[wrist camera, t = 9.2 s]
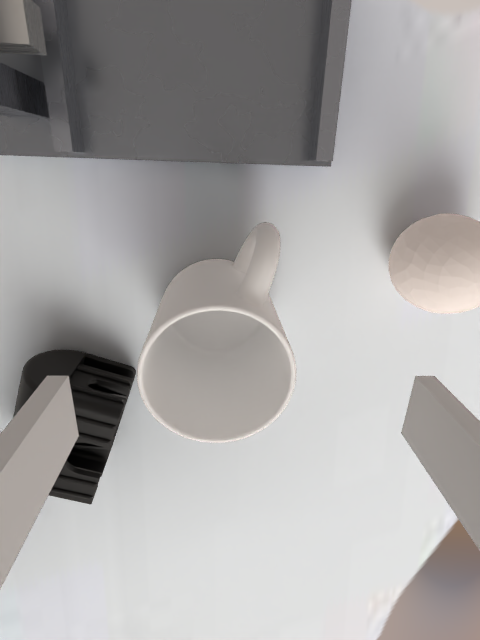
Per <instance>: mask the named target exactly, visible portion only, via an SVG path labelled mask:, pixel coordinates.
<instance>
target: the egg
mask: <svg viewBox="0 0 480 640" xmlns="http://www.w3.org/2000/svg"><path fill="white" fill-rule="evenodd" d="M389 274H390V278H391V281H392V283H393V285H394V287H395V289H396V290H397V292H398V293H399V294H400V295H401V296H402V297H403V298H404V299H405V300H406V301H408V302H409V303H411V304H413V305H414V306H416V307H418V308H421V309H423V310H426V311H429V312H432V313H440V314H450V313H461V312H465V311H469V310H472V309H475V308H477V307H479V306H480V222H479V221H477V220H474V219H472V218H470V217H466V216H462V215H459V214H450V213H445V214H437V215H433V216H429V217H426V218H423V219H420V220H418V221H416V222H415V223H413V224H412V225H410V226H409V227H408V228H407V229H406V230H404V231H403V232H402V233H401V234H400V236H399V237H398V238H397V240H396V241H395V243H394V245H393V247H392V249H391V253H390V257H389Z"/></svg>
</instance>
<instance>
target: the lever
mask: <svg viewBox="0 0 480 640" xmlns="http://www.w3.org/2000/svg"><path fill="white" fill-rule="evenodd" d="M0 53H12V54H31V55H47V52H46V45H45V38H44V31H43V24H42V17H41V10H40V7H39V6H38V5H36V4H35V3H34V2H33V1H32V0H0Z"/></svg>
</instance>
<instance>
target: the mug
mask: <svg viewBox="0 0 480 640" xmlns="http://www.w3.org/2000/svg"><path fill="white" fill-rule="evenodd" d="M279 255H280V235H279V232H278V230H277V229H276V227H275V226H274V225H272V224H271V223H266V222H265V223H260V224H258V225H257V226H256V227H255V228H253V230H252V231H251V232H250V234H249V235H248V237H247V239H246V240H245V242H244V244H243V245H242V247H241V249H240V251H239V253H238V255H237V257H236V259H235V261H230V260H225V259H207V260H202V261H199V262H196V263H194V264H191V265H189V266H188V267H186V268H184V269H183V270H182V271H181V272H179V273H178V274H177V275H176V276H175V277H174V278H173V279H172V281H171V282H170V284H169V285H168V287H167V289H166V291H165V292H164V295H163V297H162V300H161V302H160V305H159V307H158V310H157V313H156V315H155V318H154V320H153V323H152V325H151V328H150V331H149V333H148V336H147V338H146V341H145V343H144V346H143V349H142V351H141V354H140V357H139V361H138V366H137V382H138V388H139V391H140V395H141V397H142V399H143V402H144V404H145V405H146V407H147V409H148V410H149V412H150V413H151V414H152V415H153V416H154V418H155V419H156V420H157V421H159V422H160V423H161V424H162V425H163V426H165V427H166V428H167V429H169V430H170V431H172V432H174V433H176V434H178V435H180V436H183V437H185V438H188V439H192V440H195V441H201V442H210V443H221V442H230V441H236V440H239V439H243V438H246V437H249V436H251V435H253V434H255V433H257V432H259V431H261V430H263V429H264V428H266V427H267V426H269V425H270V424H271V423H272V422H273V421H274V420H276V418H277V417H278V416H279V415H280V414H281V413H282V412H283V410H284V409H285V407H286V406H287V404H288V402H289V400H290V399H291V396H292V393H293V391H294V387H295V382H296V362H295V358H294V354H293V351H292V349H291V347H290V344H289V342H288V339H287V337H286V334H285V332H284V330H283V327H282V325H281V322H280V320H279V317H278V315H277V313H276V310H275V308H274V305H273V303H272V300H271V298H270V296H269V290H270V287H271V285H272V282H273V279H274V276H275V272H276V269H277V265H278V261H279Z"/></svg>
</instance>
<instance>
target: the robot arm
mask: <svg viewBox="0 0 480 640" xmlns="http://www.w3.org/2000/svg"><path fill="white" fill-rule="evenodd" d="M401 434H402V435H403V437H404V438H405V440H406V441H407V442H408V444H409V445H410V447H411V448H412V450H413V451H414V453H415V454H416V456H417V457H418V459H419V460H420V462H421V463H422V465H423V466H424V468H425V469H426V471H427V472H428V474H429V475H430V477H431V478H432V480H433V481H434V483H435V484H436V486H437V487H438V489H439V490H440V492H441V493H442V495H443V496H444V498H445V499H446V501H447V502H448V504H449V505H450V507H451V508H452V510H453V511H454V513H455V514H456V516H457V517H458V519H459V520H460V522H461V523H462V525H463V526H464V528H465V529H466V531H467V532H468V534H469V535H470V537H471V538H472V540H473V541H474V543H475V544H476V546H477V547H478V549H479V550H480V421H479V420H478V419H477V418H476V417H475V416H474V415H473V414H472V413H471V412H470V411H469V410H468V409H467V408H466V407H465V406H464V405H463V404H462V403H461V402H460V401H459V400H458V399H457V398H456V397H455V396H454V395H453V394H452V393H451V392H450V391H449V390H448V389H447V388H446V387H445V386H444V385H443V384H442V383H441V382H440V381H439V380H438V379H437V378H436V377H435V376H415V380H414V384H413V388H412V392H411V396H410V400H409V404H408V408H407V412H406V416H405V420H404V424H403V428H402V432H401ZM78 436H79V434H78V428H77V422H76V416H75V410H74V404H73V399H72V393H71V387H70V381H69V376H46V378H45V379H44V380H43V381H42V383H41V384H40V385H39V386H38V388H37V389H36V390H35V391H34V393H33V394H32V395H31V396H30V398H29V399H28V400H27V401H26V403H25V404H24V405H23V406H22V408H21V409H20V410H19V411H18V413H17V414H16V415H15V416H14V418H13V419H12V420H11V421H10V423H9V424H8V425H7V426H6V428H5V429H4V430H3V431H2V433H1V434H0V589H1V587H2V585H3V583H4V581H5V579H6V577H7V575H8V573H9V571H10V569H11V567H12V565H13V564H14V562H15V560H16V558H17V556H18V554H19V552H20V550H21V548H22V546H23V544H24V542H25V540H26V538H27V536H28V534H29V532H30V530H31V528H32V526H33V524H34V522H35V520H36V519H37V517H38V515H39V513H40V511H41V509H42V507H43V505H44V503H45V501H46V499H47V497H48V495H49V493H50V491H51V489H52V487H53V485H54V483H55V481H56V479H57V477H58V475H59V474H60V472H61V470H62V468H63V466H64V464H65V462H66V460H67V458H68V456H69V454H70V452H71V450H72V448H73V446H74V444H75V442H76V440H77V438H78Z"/></svg>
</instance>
